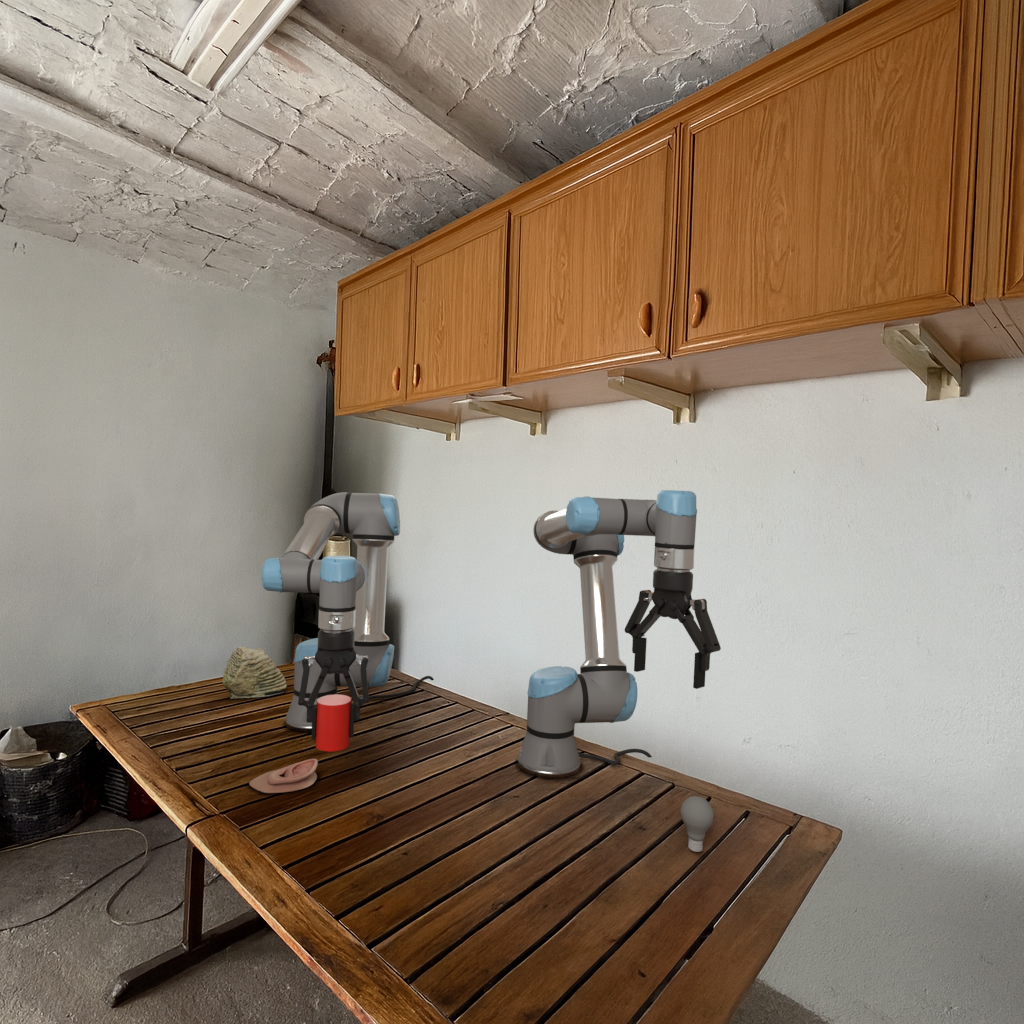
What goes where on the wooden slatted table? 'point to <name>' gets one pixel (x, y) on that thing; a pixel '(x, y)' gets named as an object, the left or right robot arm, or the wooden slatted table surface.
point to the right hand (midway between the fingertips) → (668, 678)
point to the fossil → (252, 674)
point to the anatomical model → (287, 778)
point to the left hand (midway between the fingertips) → (332, 735)
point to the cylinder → (333, 722)
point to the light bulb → (696, 820)
